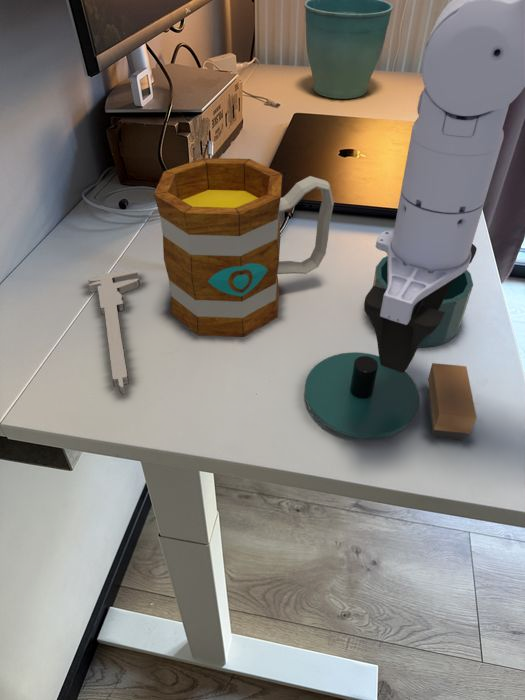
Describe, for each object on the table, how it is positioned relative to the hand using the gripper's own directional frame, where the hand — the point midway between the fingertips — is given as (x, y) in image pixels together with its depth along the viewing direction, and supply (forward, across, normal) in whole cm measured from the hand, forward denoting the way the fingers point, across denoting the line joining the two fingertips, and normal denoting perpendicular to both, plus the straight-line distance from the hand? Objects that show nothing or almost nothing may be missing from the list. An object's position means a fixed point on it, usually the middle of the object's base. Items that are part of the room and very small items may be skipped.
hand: (408, 339), depth 47 cm
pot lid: (+8, +1, -3) cm, 8 cm away
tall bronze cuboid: (+8, -1, +5) cm, 10 cm away
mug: (+8, -8, -21) cm, 24 cm away
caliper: (+8, +3, -29) cm, 30 cm away
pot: (+8, -14, -2) cm, 17 cm away
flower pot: (+8, -85, -43) cm, 95 cm away
